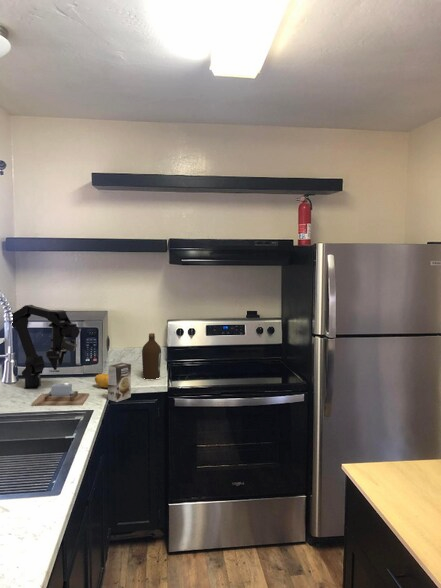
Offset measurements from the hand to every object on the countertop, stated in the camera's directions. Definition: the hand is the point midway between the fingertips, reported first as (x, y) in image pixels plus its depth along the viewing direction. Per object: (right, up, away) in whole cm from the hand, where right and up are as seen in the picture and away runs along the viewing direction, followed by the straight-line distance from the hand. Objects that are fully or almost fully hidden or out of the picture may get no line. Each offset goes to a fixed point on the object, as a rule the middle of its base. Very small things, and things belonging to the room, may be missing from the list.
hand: (58, 367), depth 215 cm
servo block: (+7, -12, -14) cm, 19 cm away
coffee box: (+32, -13, -9) cm, 36 cm away
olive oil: (+42, -11, +28) cm, 51 cm away
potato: (+23, -12, +8) cm, 27 cm away
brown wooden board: (+7, -13, -14) cm, 20 cm away
